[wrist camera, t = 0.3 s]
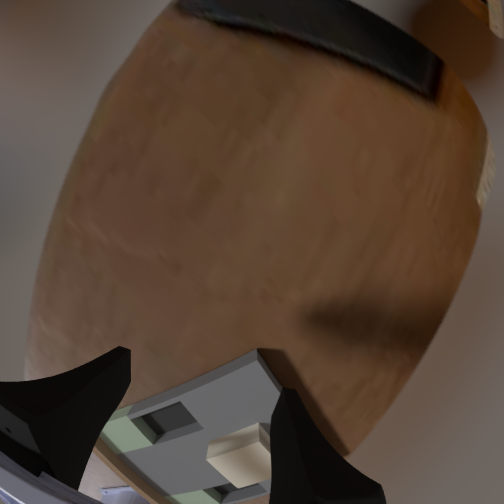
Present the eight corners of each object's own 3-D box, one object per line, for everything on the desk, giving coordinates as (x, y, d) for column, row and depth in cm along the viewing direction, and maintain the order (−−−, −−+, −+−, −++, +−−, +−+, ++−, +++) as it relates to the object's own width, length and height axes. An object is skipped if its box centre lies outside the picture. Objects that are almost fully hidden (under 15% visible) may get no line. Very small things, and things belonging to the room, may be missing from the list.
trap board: (181, 502, 25) (176, 521, 22) (92, 418, 24) (79, 437, 20) (331, 456, 24) (338, 478, 21) (256, 348, 23) (257, 369, 19)
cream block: (238, 470, 22) (237, 488, 20) (209, 441, 22) (205, 459, 19) (285, 454, 22) (287, 472, 19) (258, 422, 21) (259, 441, 19)
